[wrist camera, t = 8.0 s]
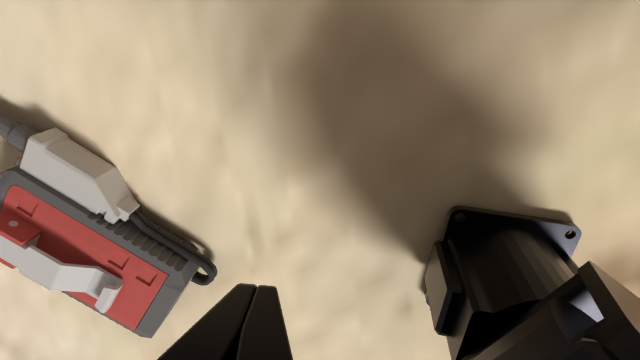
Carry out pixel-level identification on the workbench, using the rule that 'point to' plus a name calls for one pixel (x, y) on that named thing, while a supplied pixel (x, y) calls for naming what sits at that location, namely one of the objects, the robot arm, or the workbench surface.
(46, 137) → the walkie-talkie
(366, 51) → the workbench surface
